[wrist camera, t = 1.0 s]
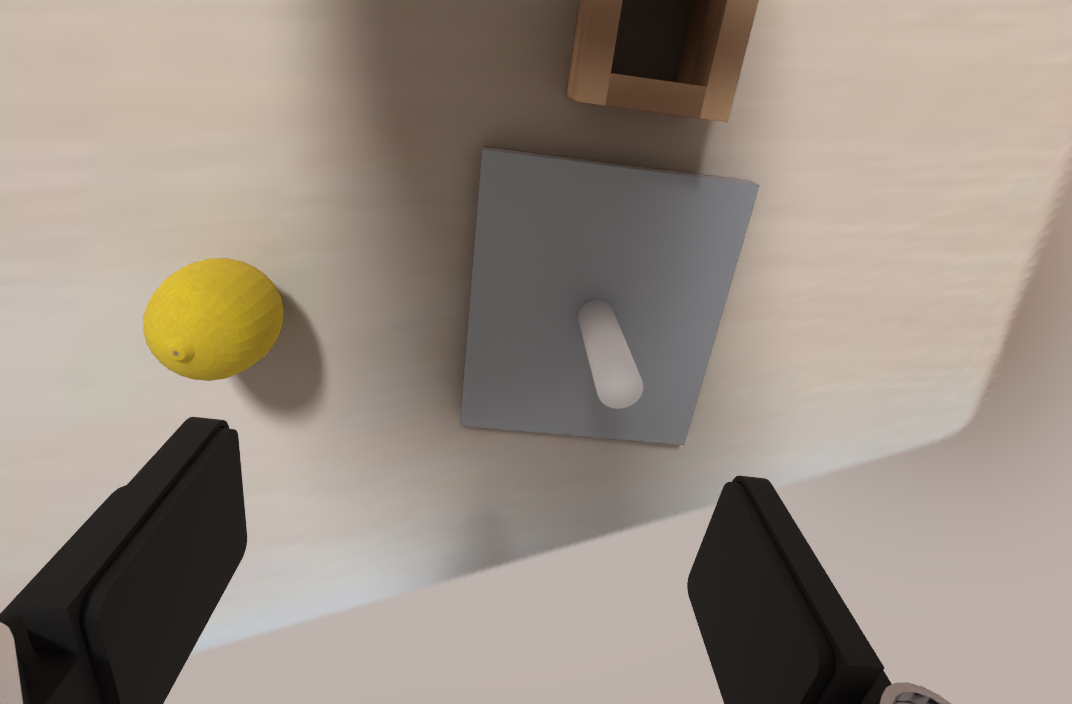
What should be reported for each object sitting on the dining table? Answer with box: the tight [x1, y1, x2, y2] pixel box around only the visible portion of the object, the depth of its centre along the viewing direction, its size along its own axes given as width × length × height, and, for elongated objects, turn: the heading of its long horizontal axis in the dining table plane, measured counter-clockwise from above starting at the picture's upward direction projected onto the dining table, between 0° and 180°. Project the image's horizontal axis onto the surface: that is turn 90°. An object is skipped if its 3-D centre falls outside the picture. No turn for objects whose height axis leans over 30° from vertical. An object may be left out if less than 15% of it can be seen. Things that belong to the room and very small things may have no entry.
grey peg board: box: [460, 147, 759, 445], centre depth 29 cm, size 16×14×9 cm
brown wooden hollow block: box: [566, 0, 759, 122], centre depth 24 cm, size 6×6×5 cm
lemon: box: [143, 258, 283, 381], centre depth 28 cm, size 6×6×8 cm
